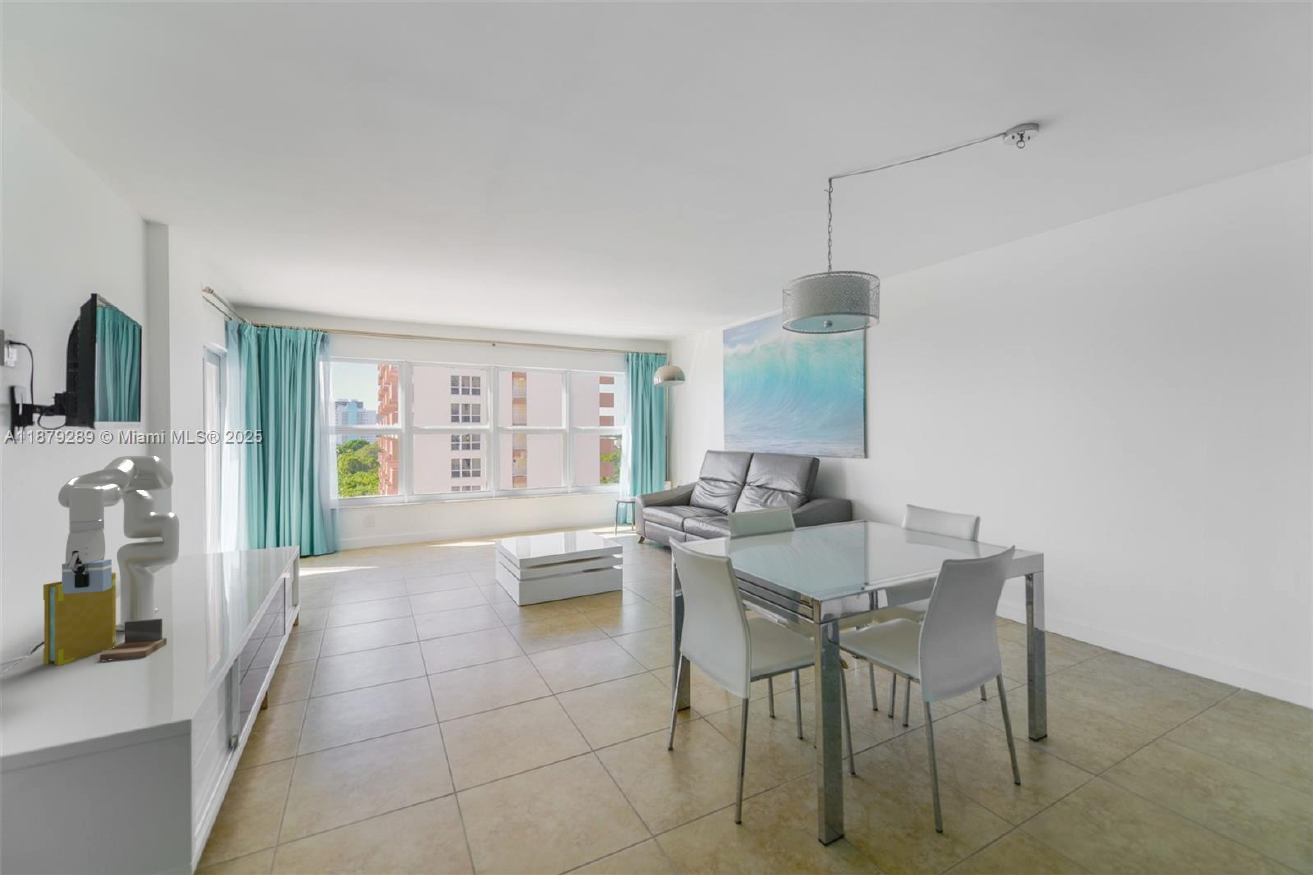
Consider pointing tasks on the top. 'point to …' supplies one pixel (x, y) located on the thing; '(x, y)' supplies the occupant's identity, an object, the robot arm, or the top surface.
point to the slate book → (97, 577)
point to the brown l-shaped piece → (138, 640)
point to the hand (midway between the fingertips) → (87, 584)
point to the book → (77, 623)
